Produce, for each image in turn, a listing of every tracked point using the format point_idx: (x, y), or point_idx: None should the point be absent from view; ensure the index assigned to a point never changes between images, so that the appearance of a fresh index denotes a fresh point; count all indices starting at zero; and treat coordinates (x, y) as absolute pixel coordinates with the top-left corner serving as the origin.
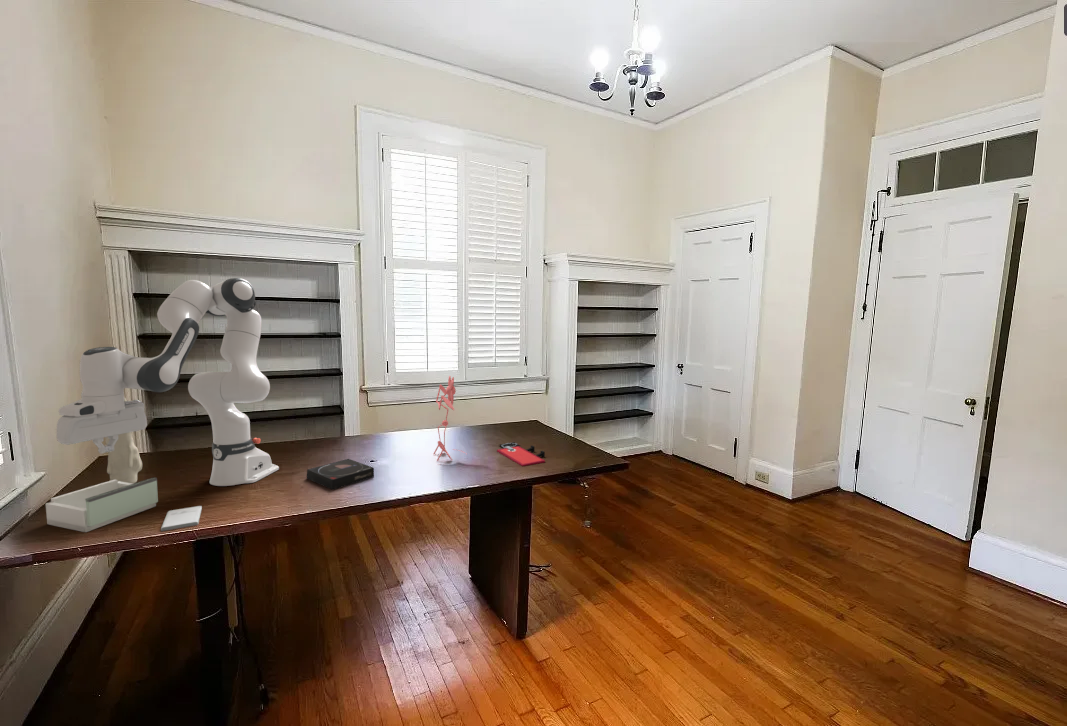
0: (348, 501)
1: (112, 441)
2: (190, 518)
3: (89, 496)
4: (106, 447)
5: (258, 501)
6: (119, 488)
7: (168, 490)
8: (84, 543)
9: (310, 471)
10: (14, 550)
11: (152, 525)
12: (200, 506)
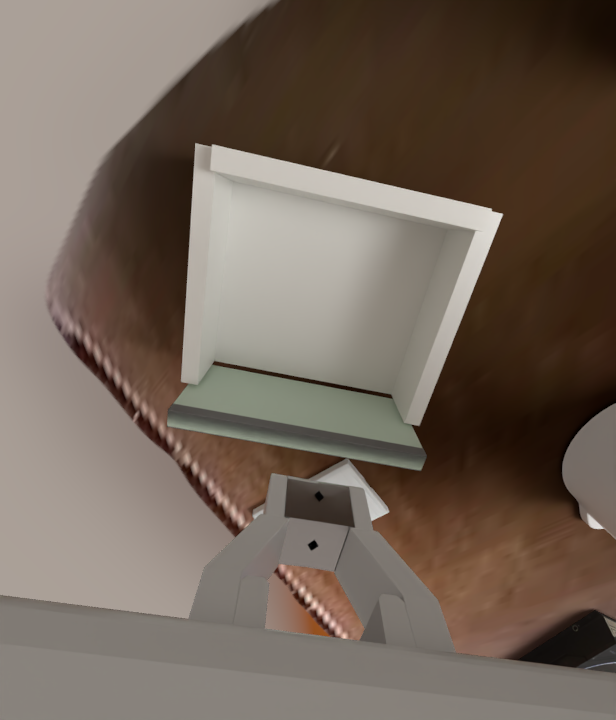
0: None
1: (360, 603)
2: None
3: (351, 205)
4: (290, 556)
5: (434, 587)
6: (288, 435)
7: (548, 319)
8: (157, 405)
9: (600, 649)
10: (67, 266)
11: (277, 472)
12: (385, 513)
